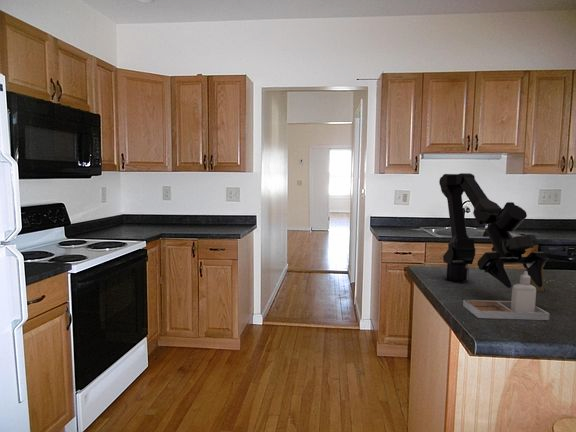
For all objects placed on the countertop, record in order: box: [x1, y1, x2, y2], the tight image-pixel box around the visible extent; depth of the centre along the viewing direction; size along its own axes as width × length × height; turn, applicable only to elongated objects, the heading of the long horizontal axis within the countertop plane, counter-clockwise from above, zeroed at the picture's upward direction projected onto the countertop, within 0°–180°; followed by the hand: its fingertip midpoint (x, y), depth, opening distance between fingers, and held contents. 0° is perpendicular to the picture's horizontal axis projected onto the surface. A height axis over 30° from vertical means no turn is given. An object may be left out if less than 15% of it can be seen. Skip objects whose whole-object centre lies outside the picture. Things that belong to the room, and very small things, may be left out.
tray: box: [462, 299, 551, 321], centre depth 108 cm, size 19×10×2 cm, turn 88°
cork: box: [530, 263, 546, 292], centre depth 131 cm, size 6×6×11 cm
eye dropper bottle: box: [510, 270, 537, 312], centre depth 108 cm, size 4×6×12 cm
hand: (525, 287), depth 107 cm, fingers open, 9 cm apart
